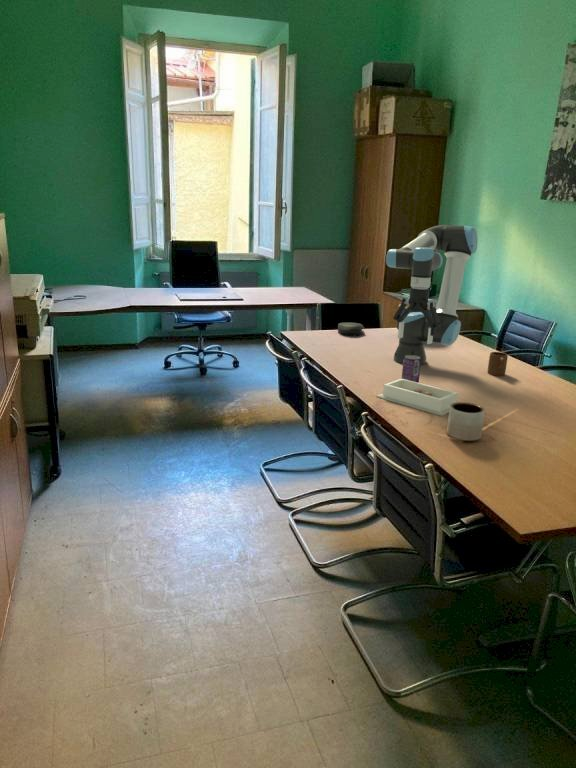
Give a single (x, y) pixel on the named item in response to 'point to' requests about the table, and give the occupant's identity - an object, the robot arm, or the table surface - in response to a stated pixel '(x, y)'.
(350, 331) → the dark grey rounded block
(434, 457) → the table surface
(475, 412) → the planter
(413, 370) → the beverage can
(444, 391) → the white rectangular tray
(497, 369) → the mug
